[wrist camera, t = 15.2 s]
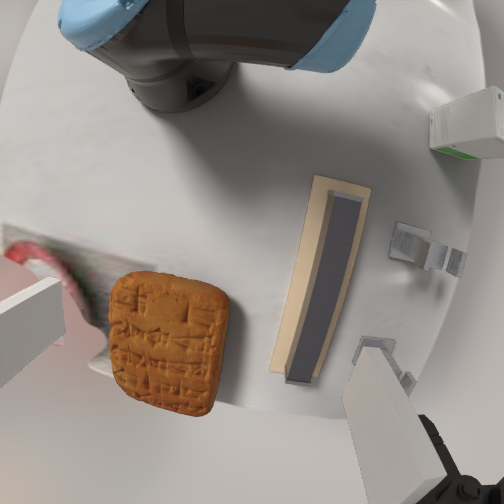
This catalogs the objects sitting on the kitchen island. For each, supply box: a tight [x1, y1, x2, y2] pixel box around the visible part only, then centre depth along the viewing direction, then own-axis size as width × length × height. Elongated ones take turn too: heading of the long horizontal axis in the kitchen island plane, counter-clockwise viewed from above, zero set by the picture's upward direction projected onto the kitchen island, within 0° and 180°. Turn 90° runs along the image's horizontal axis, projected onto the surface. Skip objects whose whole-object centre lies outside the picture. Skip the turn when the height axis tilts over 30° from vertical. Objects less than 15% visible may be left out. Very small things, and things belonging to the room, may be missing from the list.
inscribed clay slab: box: [108, 271, 229, 417], centre depth 39 cm, size 22×17×8 cm
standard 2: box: [388, 222, 467, 278], centre depth 32 cm, size 5×6×10 cm
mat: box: [269, 175, 371, 377], centre depth 40 cm, size 30×8×1 cm, turn 170°
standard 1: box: [352, 336, 417, 397], centre depth 37 cm, size 5×6×10 cm
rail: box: [284, 190, 364, 386], centre depth 37 cm, size 27×4×4 cm, turn 170°
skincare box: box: [429, 86, 504, 160], centre depth 26 cm, size 8×7×16 cm
